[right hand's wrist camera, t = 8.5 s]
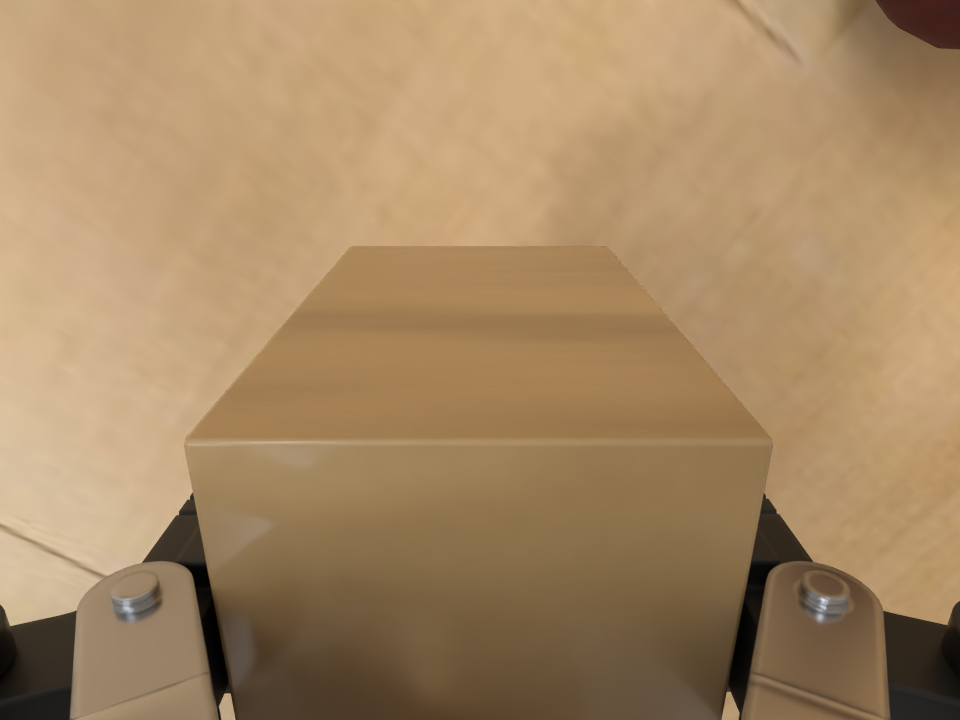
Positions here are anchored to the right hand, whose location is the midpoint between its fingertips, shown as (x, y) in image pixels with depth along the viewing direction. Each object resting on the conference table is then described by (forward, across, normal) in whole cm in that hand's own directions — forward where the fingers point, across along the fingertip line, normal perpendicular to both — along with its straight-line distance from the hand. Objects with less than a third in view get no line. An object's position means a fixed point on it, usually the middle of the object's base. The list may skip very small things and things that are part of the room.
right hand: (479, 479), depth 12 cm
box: (+6, 0, -7) cm, 9 cm away
